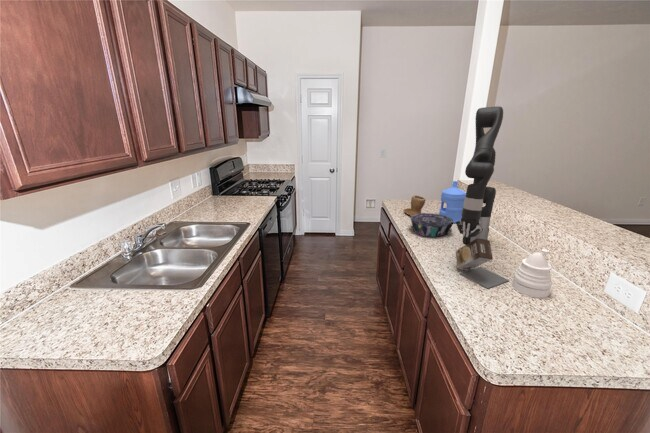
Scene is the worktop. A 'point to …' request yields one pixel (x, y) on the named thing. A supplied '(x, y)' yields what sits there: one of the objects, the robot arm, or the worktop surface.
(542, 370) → the worktop surface
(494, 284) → the rubber mat
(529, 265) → the honey pot
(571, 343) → the worktop surface
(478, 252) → the coffee box
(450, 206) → the water jug
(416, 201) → the brown boot
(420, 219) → the decorative bowl
